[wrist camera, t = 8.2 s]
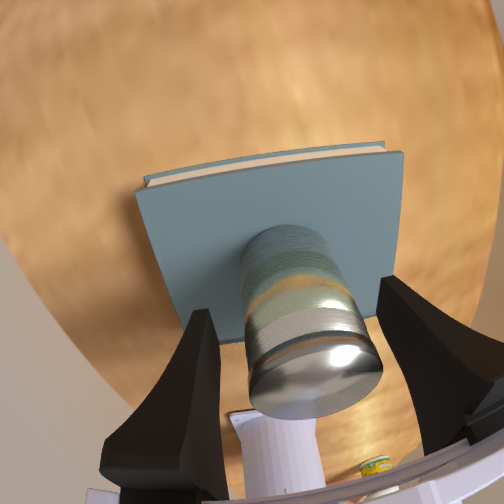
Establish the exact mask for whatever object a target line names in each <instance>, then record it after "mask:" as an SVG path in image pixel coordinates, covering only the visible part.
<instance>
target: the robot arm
mask: <svg viewBox="0 0 504 504" xmlns="http://www.w3.org/2000/svg"><path fill="white" fill-rule="evenodd" d="M376 315H377V318H378V321H379V324H380V326H381V329H382V332H383V334H384V336H385V338H386V340H387V342H388V344H389V346H390V348H391V350H392V352H393V354H394V356H395V358H396V360H397V362H398V364H399V366H400V368H401V370H402V372H403V375H404V377H405V380H406V382H407V385H408V388H409V391H410V394H411V398H412V401H413V404H414V408H415V412H416V415H417V420H418V424H419V428H420V433H421V438H422V444H423V450H424V457H422V458H420V459H417V460H414V461H412V462H409V463H406V464H404V465H401V466H398V467H395V468H392V469H389V470H386V471H383V472H380V473H377V474H373V475H370V476H366V477H363V478H359V479H356V480H352V481H348V482H344V483H340V484H336V485H332V486H327V487H326V484H325V479H324V474H323V470H322V465H321V460H320V456H319V451H318V446H317V442H316V437H315V426H316V418H315V419H308V420H280V419H275V418H271V417H268V416H265V415H263V414H262V413H260V412H258V411H257V410H252V411H244V412H236V413H231V414H230V420H231V422H232V424H233V427H234V429H235V431H236V433H237V435H238V437H239V439H240V441H241V448H242V460H243V471H244V482H245V493H246V499H240V500H229V493H228V487H227V481H226V474H225V467H224V459H223V450H222V441H221V430H220V418H219V402H220V372H221V359H220V347H219V340H218V337H217V333H216V330H215V327H214V324H213V321H212V318H211V315H210V312H209V308H206V309H199V310H194V311H193V312H192V314H191V316H190V319H189V321H188V324H187V326H186V329H185V331H184V333H183V336H182V338H181V340H180V342H179V344H178V346H177V348H176V350H175V352H174V354H173V356H172V358H171V360H170V362H169V363H168V365H167V367H166V369H165V371H164V372H163V374H162V375H161V377H160V379H159V380H158V382H157V383H156V385H155V386H154V388H153V389H152V390H151V392H150V393H149V394H148V396H147V397H146V398H145V400H144V401H143V402H142V403H141V405H140V406H139V407H138V408H137V409H136V410H135V411H134V412H133V414H132V415H131V416H130V417H129V418H128V419H127V420H126V421H125V422H124V423H123V424H122V425H121V426H120V427H119V428H118V429H117V430H116V431H115V432H114V433H112V434H111V435H110V436H109V437H108V438H107V439H106V440H105V442H104V446H103V449H102V454H101V461H100V468H99V471H100V473H101V475H102V476H104V477H105V478H106V479H108V480H109V481H111V482H113V483H114V484H116V485H118V486H120V487H121V492H120V494H119V493H116V492H111V491H104V490H97V489H91V488H89V489H87V494H86V503H85V504H347V503H346V502H344V501H348V500H352V499H356V498H359V497H363V496H366V495H370V494H373V493H376V492H379V491H382V490H386V489H389V488H392V487H394V486H397V485H400V484H403V483H406V482H408V481H411V480H414V479H416V478H419V477H421V476H423V477H421V478H420V480H419V482H417V483H416V484H414V485H411V486H408V487H406V488H403V489H400V490H398V491H395V492H392V493H388V494H385V495H382V496H379V497H376V498H372V499H369V500H366V501H362V502H359V503H355V504H462V502H461V500H463V499H465V498H467V497H469V496H471V495H473V494H474V493H476V492H478V491H480V490H481V489H483V488H485V487H487V486H488V485H490V484H492V483H493V482H495V481H496V480H498V479H499V478H501V477H503V476H504V343H503V342H500V341H497V340H495V339H492V338H490V337H487V336H485V335H483V334H481V333H479V332H477V331H474V330H472V329H470V328H469V327H467V326H465V325H463V324H461V323H460V322H458V321H456V320H454V319H453V318H451V317H450V316H448V315H447V314H445V313H444V312H442V311H441V310H439V309H438V308H436V307H435V306H434V305H432V304H431V303H429V302H428V301H427V300H425V299H424V298H423V297H421V296H420V295H419V294H418V293H416V292H415V291H414V290H412V289H411V288H410V287H409V286H407V285H406V284H405V283H403V282H402V281H401V280H400V279H398V278H397V277H395V276H394V275H391V276H387V277H382V278H381V280H380V287H379V294H378V301H377V307H376ZM426 474H427V475H426ZM424 475H425V476H424Z"/></svg>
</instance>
